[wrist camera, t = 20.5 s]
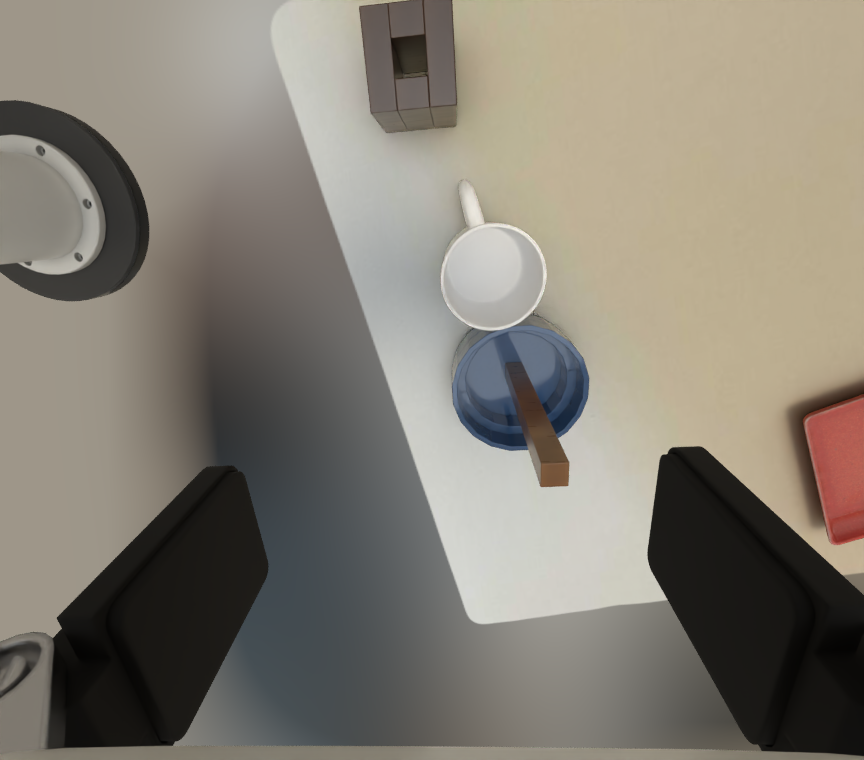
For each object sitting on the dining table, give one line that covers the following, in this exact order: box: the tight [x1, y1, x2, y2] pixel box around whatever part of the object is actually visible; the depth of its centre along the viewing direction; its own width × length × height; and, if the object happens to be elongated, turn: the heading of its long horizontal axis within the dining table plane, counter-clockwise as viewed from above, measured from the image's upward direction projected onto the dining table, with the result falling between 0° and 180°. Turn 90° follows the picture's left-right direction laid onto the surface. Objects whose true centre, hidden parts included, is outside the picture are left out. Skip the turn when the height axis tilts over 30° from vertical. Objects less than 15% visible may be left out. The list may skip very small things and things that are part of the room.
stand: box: [359, 0, 457, 133], centre depth 34 cm, size 6×6×8 cm
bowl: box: [452, 315, 589, 451], centre depth 44 cm, size 13×13×6 cm
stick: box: [505, 362, 569, 487], centre depth 37 cm, size 2×2×20 cm
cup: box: [440, 179, 547, 331], centre depth 37 cm, size 8×12×10 cm
